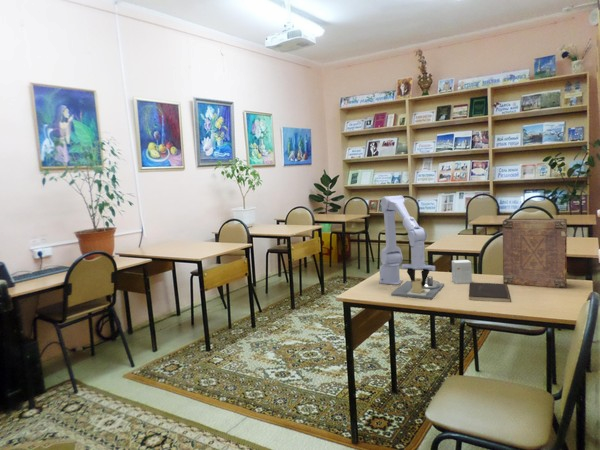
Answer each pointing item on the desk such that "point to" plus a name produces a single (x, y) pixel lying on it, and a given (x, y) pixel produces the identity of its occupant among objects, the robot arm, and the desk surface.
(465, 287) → the desk surface
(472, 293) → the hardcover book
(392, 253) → the robot arm
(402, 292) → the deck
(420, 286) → the link block
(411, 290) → the pad
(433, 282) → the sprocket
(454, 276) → the small box
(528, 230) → the book
